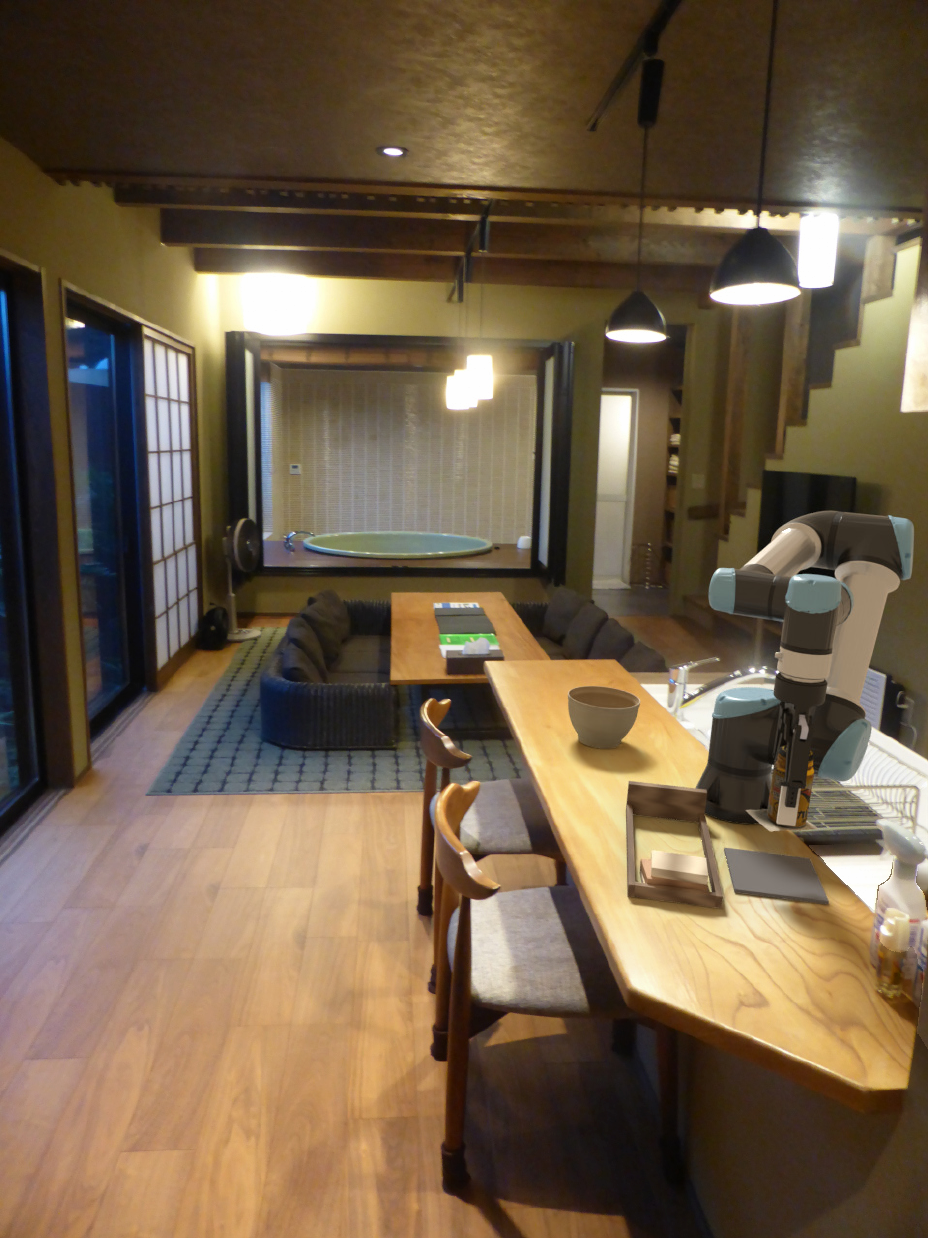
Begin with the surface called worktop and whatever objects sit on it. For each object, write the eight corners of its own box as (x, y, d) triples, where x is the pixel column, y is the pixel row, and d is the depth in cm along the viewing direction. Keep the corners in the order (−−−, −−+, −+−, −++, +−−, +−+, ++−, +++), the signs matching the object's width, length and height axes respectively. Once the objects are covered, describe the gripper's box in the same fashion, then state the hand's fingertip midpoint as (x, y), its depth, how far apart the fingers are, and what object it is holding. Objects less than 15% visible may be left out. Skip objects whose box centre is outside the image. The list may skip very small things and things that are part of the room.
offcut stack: (702, 880, 141) (705, 854, 140) (709, 903, 134) (713, 876, 133) (638, 874, 141) (641, 848, 140) (642, 897, 135) (645, 869, 134)
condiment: (818, 829, 138) (829, 757, 135) (769, 832, 136) (779, 759, 133) (791, 809, 144) (801, 740, 142) (744, 812, 143) (754, 742, 140)
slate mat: (809, 861, 148) (809, 858, 148) (828, 904, 135) (828, 901, 135) (723, 850, 150) (724, 847, 150) (734, 892, 137) (734, 889, 137)
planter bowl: (604, 761, 188) (608, 712, 185) (549, 738, 200) (553, 692, 197) (650, 745, 198) (655, 699, 196) (595, 725, 210) (599, 681, 208)
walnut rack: (702, 820, 162) (706, 789, 160) (721, 908, 132) (726, 872, 131) (625, 810, 164) (628, 780, 163) (627, 896, 134) (631, 860, 133)
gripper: (766, 657, 145) (748, 788, 150) (788, 691, 126) (767, 838, 131) (813, 662, 144) (794, 793, 149) (842, 696, 125) (819, 845, 130)
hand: (781, 814), depth 140 cm, fingers closed on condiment, 6 cm apart
